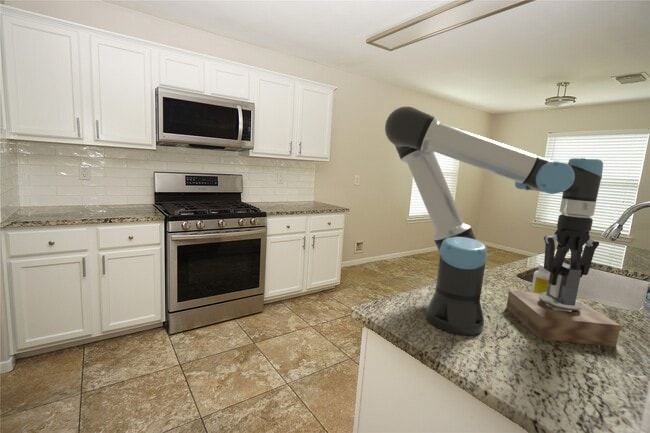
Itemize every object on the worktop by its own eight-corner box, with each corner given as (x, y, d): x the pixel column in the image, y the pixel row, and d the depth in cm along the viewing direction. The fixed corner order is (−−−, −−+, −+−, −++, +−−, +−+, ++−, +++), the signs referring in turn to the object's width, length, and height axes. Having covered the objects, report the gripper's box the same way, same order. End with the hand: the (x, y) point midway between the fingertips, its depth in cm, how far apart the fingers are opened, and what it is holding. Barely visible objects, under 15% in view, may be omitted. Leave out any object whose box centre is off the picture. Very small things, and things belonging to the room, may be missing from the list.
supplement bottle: (556, 306, 108) (562, 269, 106) (534, 303, 109) (540, 267, 107) (546, 299, 115) (553, 264, 113) (526, 296, 116) (532, 261, 114)
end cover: (548, 325, 89) (558, 269, 87) (529, 309, 99) (537, 259, 96) (586, 329, 88) (598, 273, 86) (563, 313, 98) (573, 262, 96)
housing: (538, 338, 85) (542, 317, 84) (506, 308, 104) (509, 290, 103) (615, 347, 84) (620, 325, 83) (568, 314, 102) (572, 296, 101)
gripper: (552, 215, 86) (537, 298, 90) (618, 220, 84) (600, 305, 88) (537, 211, 93) (524, 288, 97) (597, 216, 92) (581, 294, 95)
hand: (560, 296), depth 92 cm, fingers closed on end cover, 3 cm apart
